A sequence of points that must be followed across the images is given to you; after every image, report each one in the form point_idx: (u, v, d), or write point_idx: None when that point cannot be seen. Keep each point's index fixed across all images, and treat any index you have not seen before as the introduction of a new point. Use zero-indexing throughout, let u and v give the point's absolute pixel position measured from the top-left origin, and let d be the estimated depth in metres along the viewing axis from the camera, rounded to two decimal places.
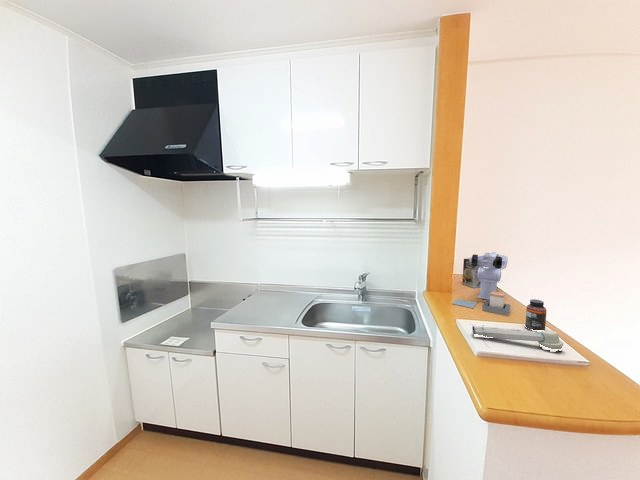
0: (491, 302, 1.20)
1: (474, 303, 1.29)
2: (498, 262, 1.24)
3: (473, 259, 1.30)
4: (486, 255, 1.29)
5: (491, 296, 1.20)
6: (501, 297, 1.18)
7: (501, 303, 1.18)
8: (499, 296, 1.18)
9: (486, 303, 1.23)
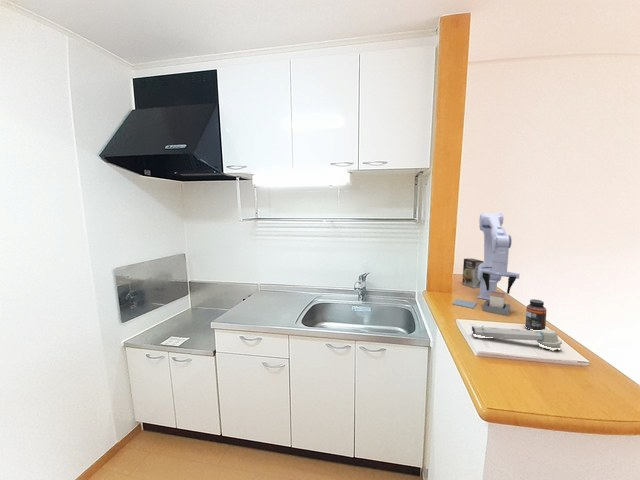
0: (491, 302, 1.20)
1: (474, 303, 1.29)
2: None
3: None
4: (497, 274, 1.18)
5: (491, 296, 1.20)
6: (501, 297, 1.18)
7: (501, 303, 1.18)
8: (499, 296, 1.18)
9: (486, 303, 1.23)
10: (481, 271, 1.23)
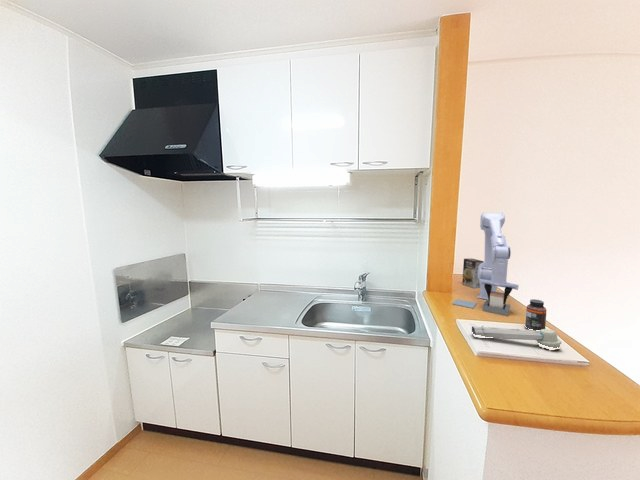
0: (491, 302, 1.20)
1: (474, 303, 1.29)
2: None
3: None
4: (496, 285, 1.18)
5: (491, 296, 1.20)
6: (501, 297, 1.18)
7: (501, 303, 1.18)
8: (499, 296, 1.18)
9: (486, 303, 1.23)
10: (480, 281, 1.24)
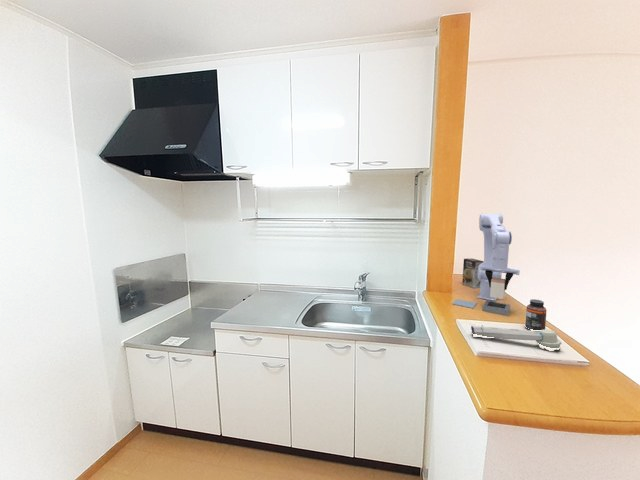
0: (492, 288, 1.20)
1: (474, 303, 1.29)
2: None
3: None
4: (497, 270, 1.18)
5: (492, 282, 1.19)
6: (502, 283, 1.17)
7: (502, 289, 1.17)
8: (500, 282, 1.17)
9: (486, 303, 1.23)
10: (481, 268, 1.23)
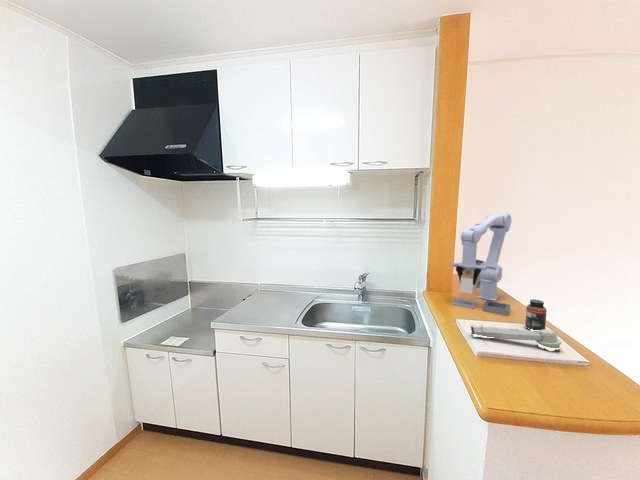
0: (462, 283, 1.27)
1: (474, 303, 1.29)
2: None
3: None
4: (466, 266, 1.25)
5: (462, 277, 1.27)
6: (471, 278, 1.25)
7: (471, 284, 1.25)
8: (469, 277, 1.25)
9: (486, 303, 1.23)
10: (452, 264, 1.31)
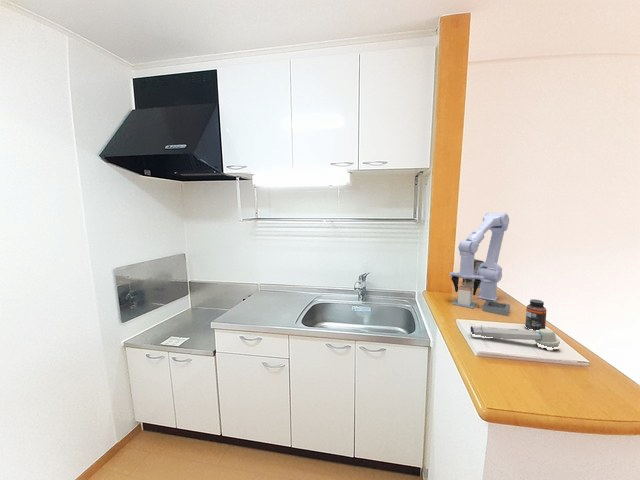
0: (459, 295, 1.29)
1: (474, 303, 1.29)
2: None
3: None
4: (464, 277, 1.26)
5: (459, 290, 1.28)
6: (468, 290, 1.26)
7: (468, 296, 1.26)
8: (466, 289, 1.26)
9: (486, 303, 1.23)
10: (450, 274, 1.32)
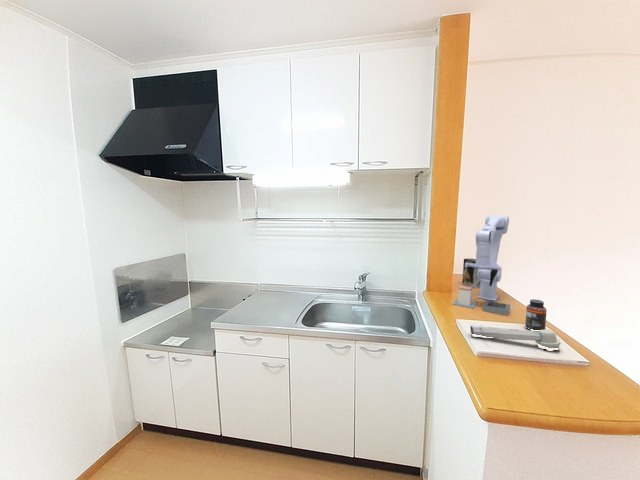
0: (459, 295, 1.29)
1: (474, 303, 1.29)
2: None
3: None
4: None
5: (459, 290, 1.28)
6: (468, 290, 1.26)
7: (468, 296, 1.26)
8: (466, 289, 1.26)
9: (486, 303, 1.23)
10: (466, 265, 1.30)
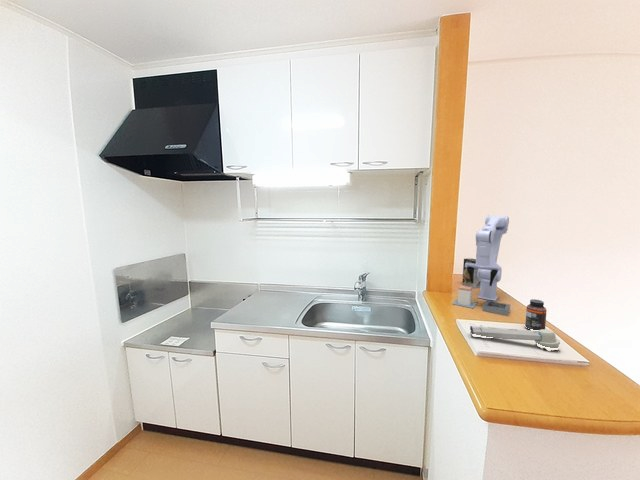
0: (459, 295, 1.29)
1: (474, 303, 1.29)
2: None
3: None
4: None
5: (459, 290, 1.28)
6: (468, 290, 1.26)
7: (468, 296, 1.26)
8: (466, 289, 1.26)
9: (486, 303, 1.23)
10: (466, 265, 1.30)
